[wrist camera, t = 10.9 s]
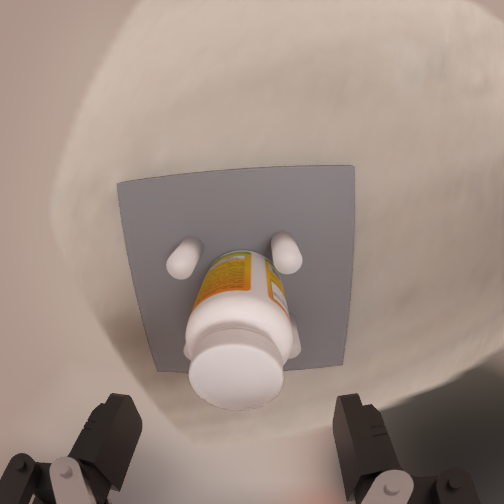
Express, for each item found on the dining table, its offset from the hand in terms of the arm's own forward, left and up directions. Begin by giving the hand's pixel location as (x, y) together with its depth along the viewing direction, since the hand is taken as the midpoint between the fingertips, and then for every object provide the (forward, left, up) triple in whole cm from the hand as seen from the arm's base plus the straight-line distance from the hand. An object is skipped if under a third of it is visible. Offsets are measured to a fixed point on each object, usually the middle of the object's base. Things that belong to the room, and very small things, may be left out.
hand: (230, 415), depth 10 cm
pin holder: (0, 0, -13) cm, 13 cm away
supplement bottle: (0, 0, -12) cm, 12 cm away
